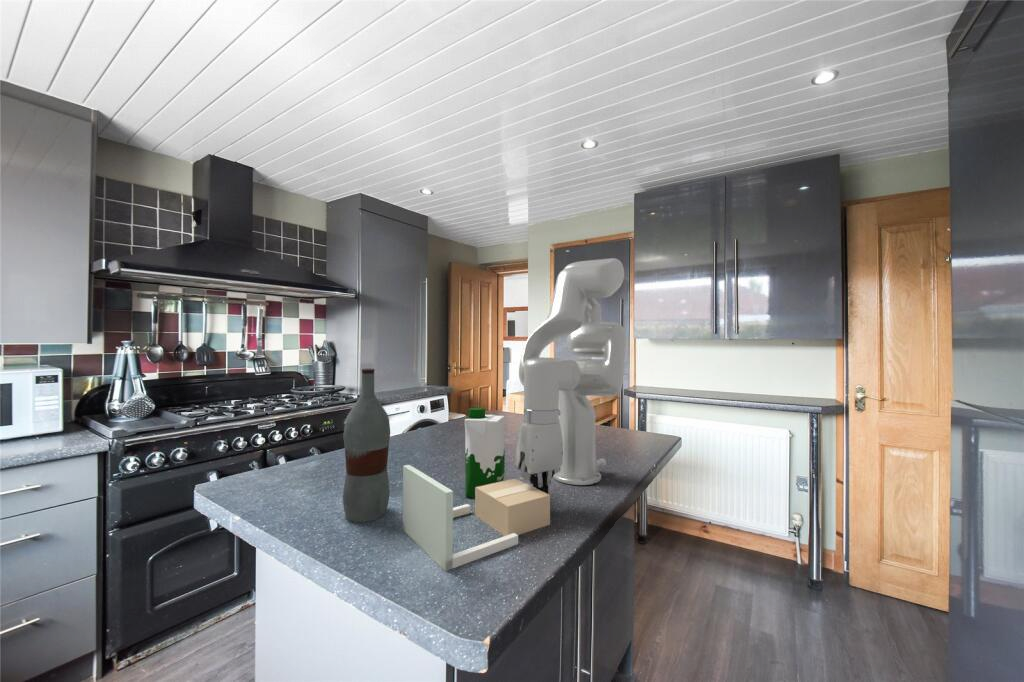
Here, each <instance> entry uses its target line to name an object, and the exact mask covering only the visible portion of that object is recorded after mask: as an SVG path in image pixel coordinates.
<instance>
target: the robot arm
mask: <svg viewBox="0 0 1024 682" xmlns="http://www.w3.org/2000/svg"><path fill="white" fill-rule="evenodd" d="M624 278H625V269H624V265H623V263H622V262H621V260H620V259H618V258H613V257H612V258H611V257H610V258H601V259H591V260H582V261H575V262H572V263H569V264H567V265H565V267H564V268H563V269H562V270H561V271H559V274H558V275H557V276H556V282H555V286H554V291H553V294H552V299H551V303H550V304H551V305H550V309H549V313H548V316H547V318H546V319H545V320H544V321H542V322H541V323H540V324H539V325H538V326H537V327H536V328H535V329H534V330H533V331H532V333H531V334H530V335H529V337H528V338H527V340H526V341H525V343H524V346H523V349H522V353H521V356H520V361H519V362H520V363H519V366H518V378H519V382H520V383H521V384H522V386H523V423H520V426H519V429H518V433H517V434H518V435H517V440H516V441H517V442H516V452H515V467H516V470H519V471H520V472H519V479H521V480H522V481H523V480H524V481H529V483H530V485H532V486H533V487H535V488H536V489H538V490H540V491H543V492H545V493H547V494H549V486H550V485H551V484H552V480H553V479H554V480H555V481H558V482H560V483H563V484H568V485H574V486H587V485H588V486H589V485H594V483H595V484H598V483H599V482H601V480H602V474H601V473H600V471H598V469H599V468H600V467H604V466H606V465H607V461H606V459H605V458H599V459H597V458H596V411H595V410H596V409H595V408H594V406H593V404H592V402H591V401H590V400H589V398H588V396H595V397H616V396H617V395H619V394H620V393H621V391H622V390H623V389H622V388H623V383H624V375H625V364H626V361H625V360H626V352H627V334H626V331H625V328H624V326H623V325H621V324H620V323H618V322H613V321H609V322H607V321H606V322H602V319H601V318H602V308H601V305H600V304H599V302H598V301H597V300H596V299H604V298H609V297H611V296H612V295H614V294H615V292H617V291H618V290H619V289H620V288H621V286H622V284H623V282H624ZM566 336H567V337H566ZM564 337H566V339H567V340H566V348H567V351H568V352H569V354H570V355H572V356H574V357H580V358H567V357H566V358H565V357H540V356H541V354H542V352H543V351H544V350H545V349H546V347H547V346H549V345H550V344H552V343H553V342H556V341H557V340H559V339H562V338H564ZM593 358H594V359H593ZM595 358H599V359H595ZM600 358H605V359H600Z"/></svg>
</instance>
